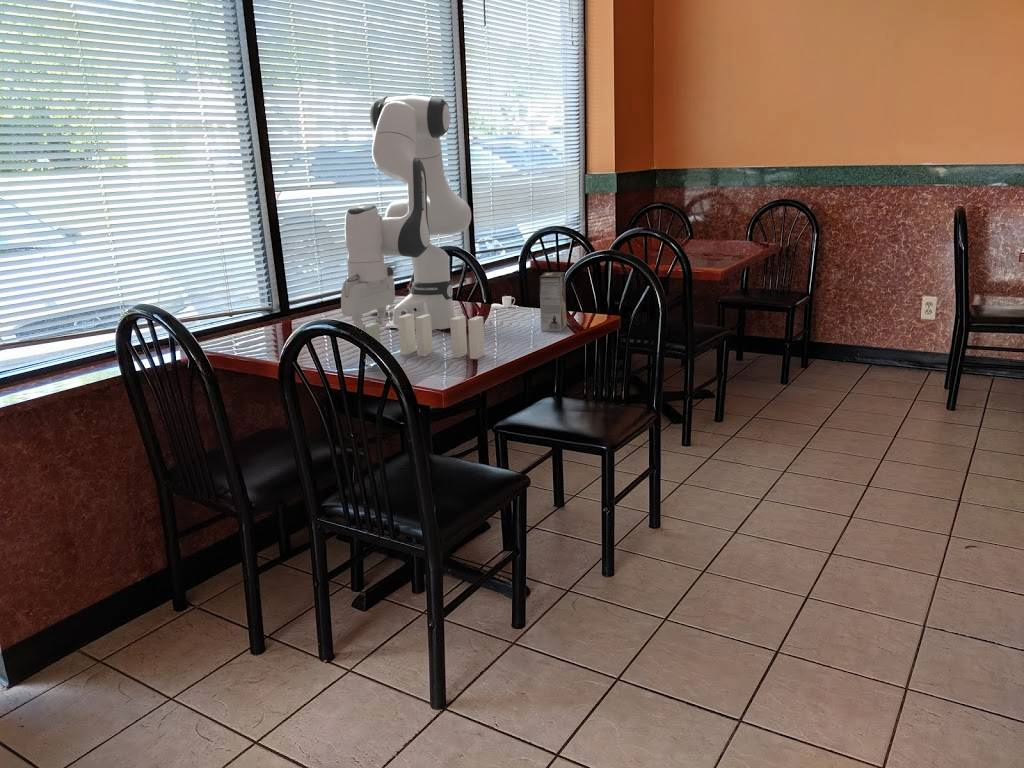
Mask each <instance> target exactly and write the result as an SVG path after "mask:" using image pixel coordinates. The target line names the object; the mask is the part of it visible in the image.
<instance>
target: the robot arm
mask: <svg viewBox="0 0 1024 768" xmlns="http://www.w3.org/2000/svg"><path fill="white" fill-rule="evenodd" d="M449 108H450V107H449V105H448V103H447V102H446V100H445V99H444V98H442V97H441V98H440V97H437V96H431V97H430V96H422V95H412V94H411V95H401V96H391V97H389V96H382V97H379V98H376V99H375V100H374V101H373V102H372V104H371V106H370V112H369V118H370V119H369V121H370V125H371V128H372V130H373V131H374V136H373V140H372V145H371V146H372V147H371V158H372V161H373V163H374V165H375V166H376V167H377V169H378V170H379V171H380V172H381V173H382V174H384V175H385V176H387V177H388V178H391V179H394V180H397V181H399V182H401V183H404V184H406V186H407V198H404V199H403V198H402V199H399V200H396V201H392V202H390V203H389V205H388V206H387V208H386V209H385V212H384V216H382V215H380V214H379V210H378V208H377V206H376V205H374V204H366V203H365V204H360V205H354V206H350V207H349V208H348V209H346V211H345V216H344V217H345V218H344V238H345V246H346V249H347V259H346V260H347V263H346V264H347V265H346V266H347V274H348V277H346V278H345V280H344V282H343V283H342V287H341V290H340V291H341V293H340V309H341V314H342V315H343V317H344V316H345V317H351V319H352V321H353V324H354V325H355V328H356V327H357V328H359V329H361V330H363V331H365V325H366V323H365V324H364V323H363V320H362V319H364V318H363V314H366V313H369V312H370V311H373V310H376V309H377V311H378V312H376V313H377V315H376V317H375V323H379V326H383V325H385V327H386V326H388V327H397V328H399V325H398V317H400V316H403V315H405V314H414V325H415V318H416V317H419V316H421V315H424V314H427V315H431V328H432V331H436V330H435V329H439V330H446V329H451V327H450V319H452V318H454V317H456V314H455V309H454V304H453V284H452V283H453V282H452V279H451V273H450V271H451V269H450V258H449V254H448V253H447V252H446V251H445V250H444V249H442V248H441V247H439V246H437V245H434V244H432V243H430V241H431V236H438V235H453V234H454V235H455V234H457V233H461V232H465V231H466V230H467V229H468V228H469V226H470V224H471V221H472V211H471V210H472V209H471V207H470V206H469V204H468V202H466V200H465V199H463V198H461V197H460V196H459V195H458V194H456V193H455V192H454V191H453V190H452V188H451V186H450V185H449V184H448V181H447V180H446V179H447V178H446V175H445V169H444V163H443V152H442V144H441V143H442V142H441V137H442V136H444V135H445V134H446V133H447V132H448V131H449V128H450V125H451V124H450V123H451V111H450V109H449ZM383 255H384V257H399V256H400V257H406V258H408V257H409V258H411V263H412V269H413V272H412V273H413V281H412V282H411V283H409V284H406V286H407V287H406V289H408V290H409V294H408V295H406V296H405V297H404V298H403V299H402V300H401V301H399V302H398V303H397V304H396V305H395V306H394V308H393V311H392V320H391V321H389V322H387V323H386V324H385V322H386V321H385V317H386V313H387V311H386V306H388V307H389V306H391V305H394V304H395V303H394V302H395V300H396V299H395V298H396V291H395V280H394V276H395V268H394V267H392V266H390V265H387V264H386V263H385V258H384V259H383ZM370 313H371V312H370ZM415 330H416V325H415Z"/></svg>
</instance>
